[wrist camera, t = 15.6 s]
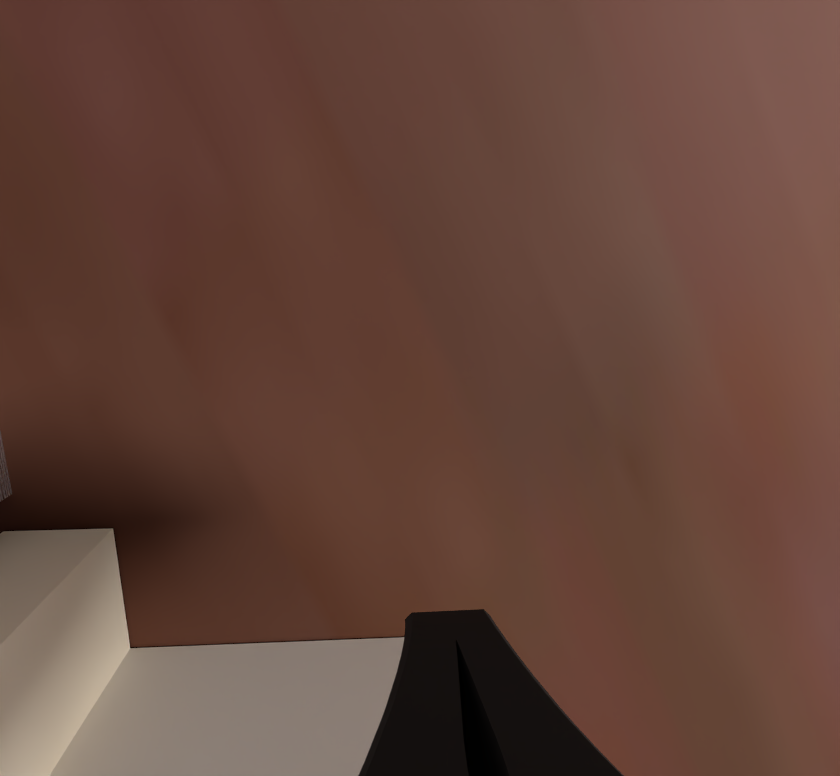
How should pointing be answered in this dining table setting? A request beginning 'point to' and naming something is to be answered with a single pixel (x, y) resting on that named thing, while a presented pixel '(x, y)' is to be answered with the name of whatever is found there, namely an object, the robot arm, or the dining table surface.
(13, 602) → the wall shelf
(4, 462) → the block
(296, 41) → the dining table surface
